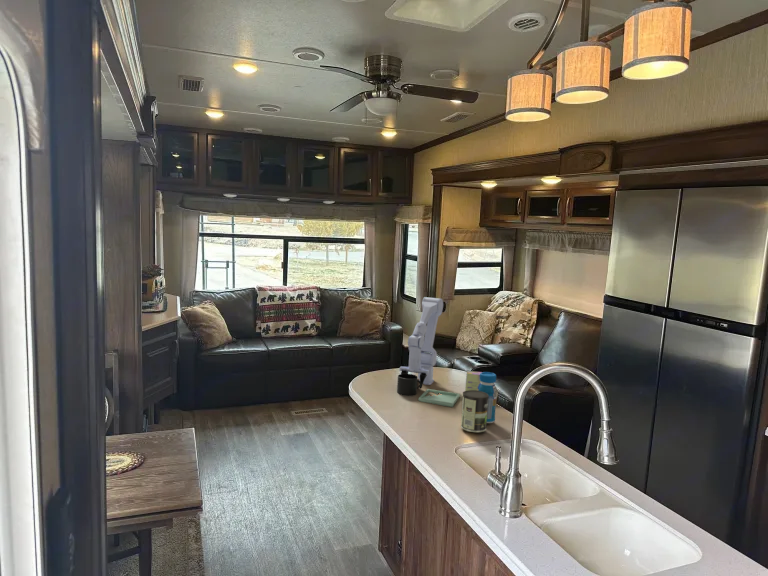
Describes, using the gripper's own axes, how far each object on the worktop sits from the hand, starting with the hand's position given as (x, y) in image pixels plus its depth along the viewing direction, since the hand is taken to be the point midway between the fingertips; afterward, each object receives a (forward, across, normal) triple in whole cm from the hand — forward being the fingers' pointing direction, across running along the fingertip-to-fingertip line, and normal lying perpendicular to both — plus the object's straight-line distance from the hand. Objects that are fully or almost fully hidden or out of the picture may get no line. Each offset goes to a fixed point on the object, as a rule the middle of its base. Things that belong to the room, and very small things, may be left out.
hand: (413, 386), depth 253 cm
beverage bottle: (+2, +39, -25) cm, 46 cm away
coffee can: (+2, +36, -36) cm, 51 cm away
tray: (+2, +15, -7) cm, 17 cm away
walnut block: (+2, 0, 0) cm, 2 cm away
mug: (+2, 0, -6) cm, 7 cm away
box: (+2, +30, +6) cm, 31 cm away
